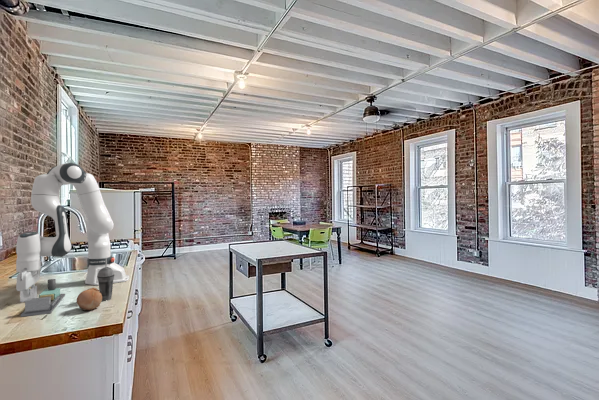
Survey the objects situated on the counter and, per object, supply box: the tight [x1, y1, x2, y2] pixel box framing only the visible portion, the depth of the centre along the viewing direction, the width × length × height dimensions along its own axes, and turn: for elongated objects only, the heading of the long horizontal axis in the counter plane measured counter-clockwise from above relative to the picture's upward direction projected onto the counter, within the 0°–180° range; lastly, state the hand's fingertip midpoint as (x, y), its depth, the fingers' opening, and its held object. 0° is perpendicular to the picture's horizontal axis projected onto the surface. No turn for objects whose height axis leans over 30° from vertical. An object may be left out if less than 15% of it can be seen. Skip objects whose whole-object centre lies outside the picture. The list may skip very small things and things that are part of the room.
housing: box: [19, 285, 38, 303], centre depth 149 cm, size 5×5×7 cm
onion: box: [76, 287, 103, 311], centre depth 138 cm, size 10×9×10 cm
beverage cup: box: [97, 258, 115, 302], centre depth 151 cm, size 7×7×20 cm
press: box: [20, 293, 66, 318], centre depth 142 cm, size 10×26×6 cm, turn 26°
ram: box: [38, 278, 61, 300], centre depth 149 cm, size 6×11×8 cm, turn 26°
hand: (28, 295), depth 149 cm, fingers closed on housing, 5 cm apart
